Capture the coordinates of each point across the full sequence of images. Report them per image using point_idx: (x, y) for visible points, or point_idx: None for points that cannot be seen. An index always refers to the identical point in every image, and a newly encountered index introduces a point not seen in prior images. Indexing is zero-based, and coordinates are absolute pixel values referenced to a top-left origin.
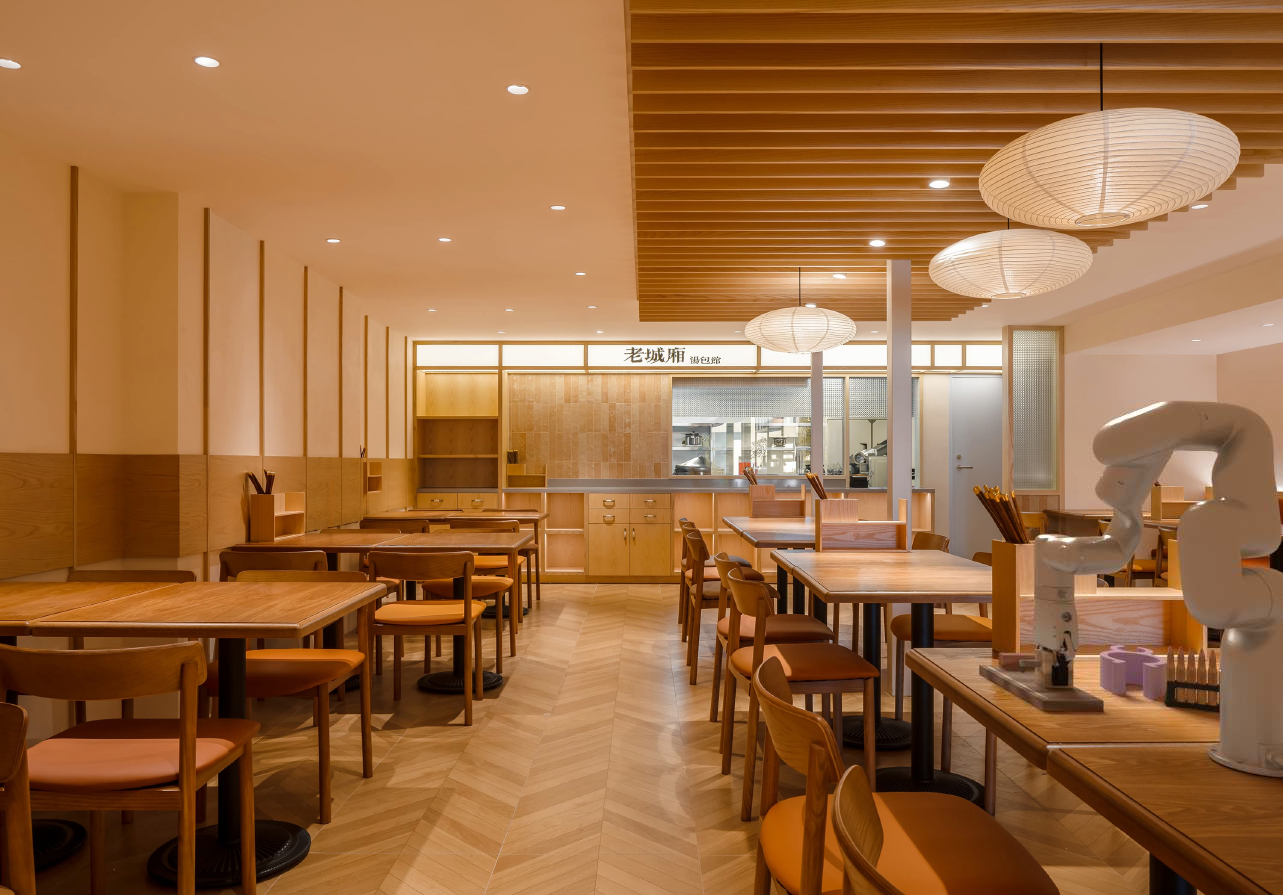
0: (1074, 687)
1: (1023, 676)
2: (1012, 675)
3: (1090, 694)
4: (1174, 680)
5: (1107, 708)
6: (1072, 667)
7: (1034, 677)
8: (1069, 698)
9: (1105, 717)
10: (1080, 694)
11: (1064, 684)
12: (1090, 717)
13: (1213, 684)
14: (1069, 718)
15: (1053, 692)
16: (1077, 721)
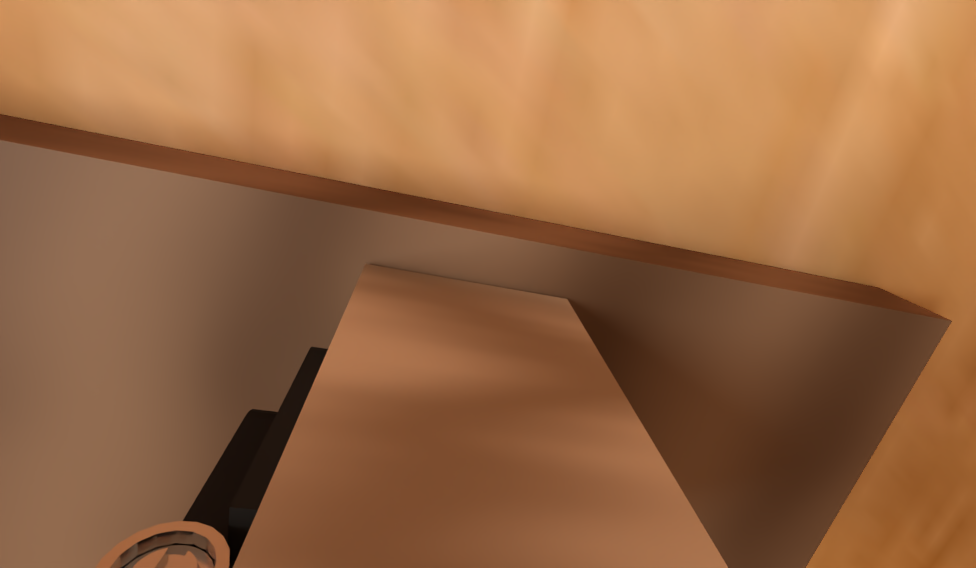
0: (540, 261)
1: (77, 469)
2: (45, 538)
3: (777, 289)
4: None
5: (849, 202)
6: (637, 442)
7: (113, 393)
8: (783, 516)
9: (959, 373)
10: (741, 373)
11: None
12: (909, 455)
13: None
14: (860, 562)
15: None
16: (912, 555)
